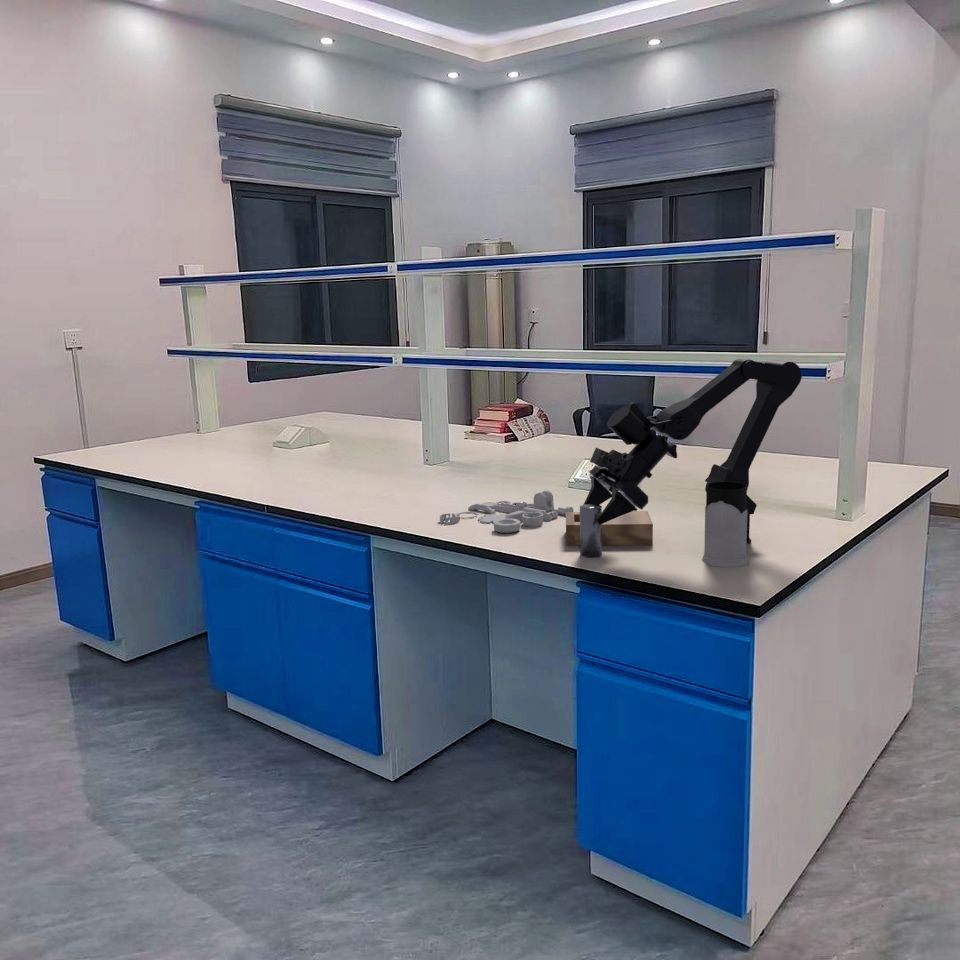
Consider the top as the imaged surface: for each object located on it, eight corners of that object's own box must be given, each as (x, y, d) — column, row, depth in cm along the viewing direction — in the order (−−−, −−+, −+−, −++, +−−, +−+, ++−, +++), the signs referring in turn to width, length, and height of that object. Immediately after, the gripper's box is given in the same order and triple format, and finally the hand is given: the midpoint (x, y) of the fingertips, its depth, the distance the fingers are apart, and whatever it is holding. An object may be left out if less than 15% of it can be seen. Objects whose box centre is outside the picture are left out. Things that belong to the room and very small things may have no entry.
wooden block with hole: (647, 530, 191) (647, 510, 191) (652, 544, 181) (652, 523, 180) (566, 531, 193) (565, 512, 192) (566, 545, 182) (565, 524, 182)
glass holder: (696, 563, 167) (697, 488, 164) (716, 544, 179) (718, 474, 176) (741, 569, 163) (743, 492, 160) (760, 549, 175) (762, 477, 171)
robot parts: (430, 524, 207) (428, 502, 206) (498, 502, 225) (497, 482, 224) (508, 540, 191) (507, 516, 190) (575, 515, 209) (575, 494, 207)
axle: (601, 551, 178) (601, 504, 176) (602, 557, 173) (602, 509, 171) (580, 551, 178) (579, 504, 176) (580, 557, 174) (579, 509, 172)
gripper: (598, 427, 181) (548, 482, 181) (633, 440, 163) (578, 502, 163) (633, 461, 184) (584, 516, 184) (671, 478, 166) (617, 539, 166)
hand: (590, 517), depth 174 cm, fingers open, 9 cm apart
